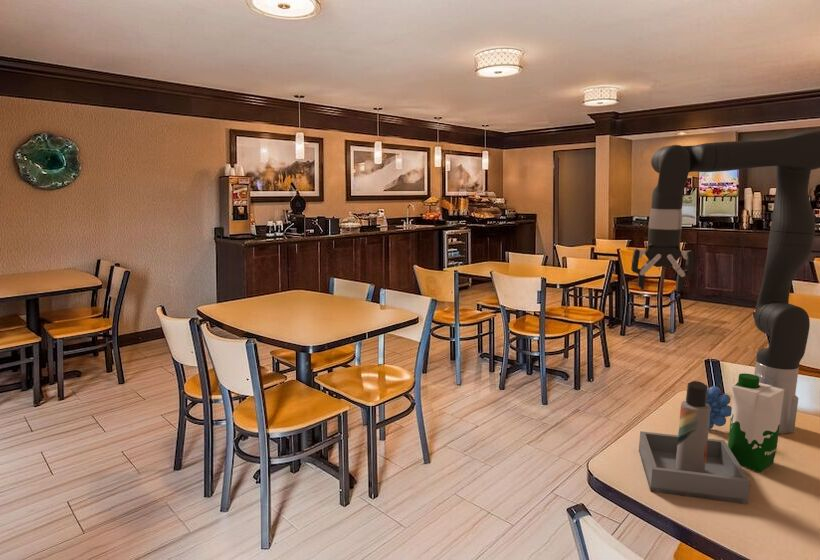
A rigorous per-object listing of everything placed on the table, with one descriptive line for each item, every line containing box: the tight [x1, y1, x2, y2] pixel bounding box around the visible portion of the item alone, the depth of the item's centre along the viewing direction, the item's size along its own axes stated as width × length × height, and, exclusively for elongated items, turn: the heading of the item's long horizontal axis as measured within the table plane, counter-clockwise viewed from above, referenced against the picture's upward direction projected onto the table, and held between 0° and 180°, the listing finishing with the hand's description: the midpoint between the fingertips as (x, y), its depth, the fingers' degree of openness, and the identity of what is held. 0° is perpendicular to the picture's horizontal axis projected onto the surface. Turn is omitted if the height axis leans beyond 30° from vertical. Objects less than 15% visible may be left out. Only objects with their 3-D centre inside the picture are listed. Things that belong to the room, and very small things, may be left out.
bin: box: [638, 430, 751, 505], centre depth 119 cm, size 18×18×5 cm
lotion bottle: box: [676, 380, 710, 473], centre depth 118 cm, size 6×6×20 cm
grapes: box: [706, 385, 732, 430], centre depth 142 cm, size 12×7×12 cm, turn 42°
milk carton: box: [727, 373, 784, 473], centre depth 123 cm, size 9×9×20 cm
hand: (660, 290), depth 140 cm, fingers open, 8 cm apart
